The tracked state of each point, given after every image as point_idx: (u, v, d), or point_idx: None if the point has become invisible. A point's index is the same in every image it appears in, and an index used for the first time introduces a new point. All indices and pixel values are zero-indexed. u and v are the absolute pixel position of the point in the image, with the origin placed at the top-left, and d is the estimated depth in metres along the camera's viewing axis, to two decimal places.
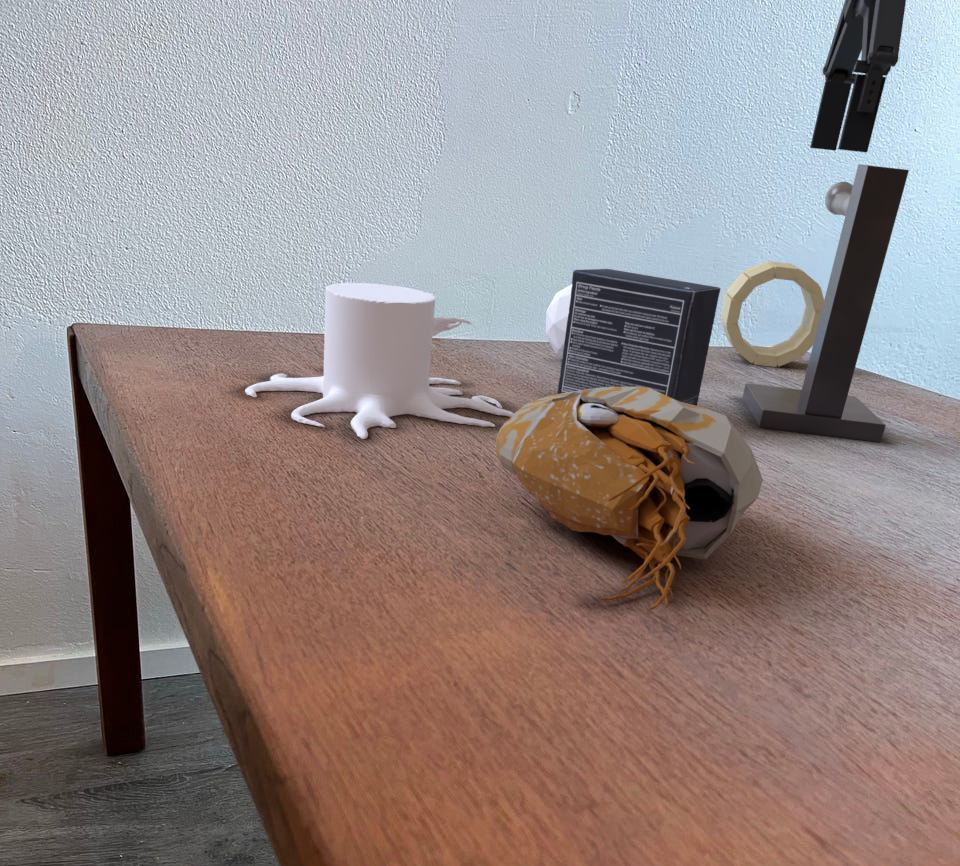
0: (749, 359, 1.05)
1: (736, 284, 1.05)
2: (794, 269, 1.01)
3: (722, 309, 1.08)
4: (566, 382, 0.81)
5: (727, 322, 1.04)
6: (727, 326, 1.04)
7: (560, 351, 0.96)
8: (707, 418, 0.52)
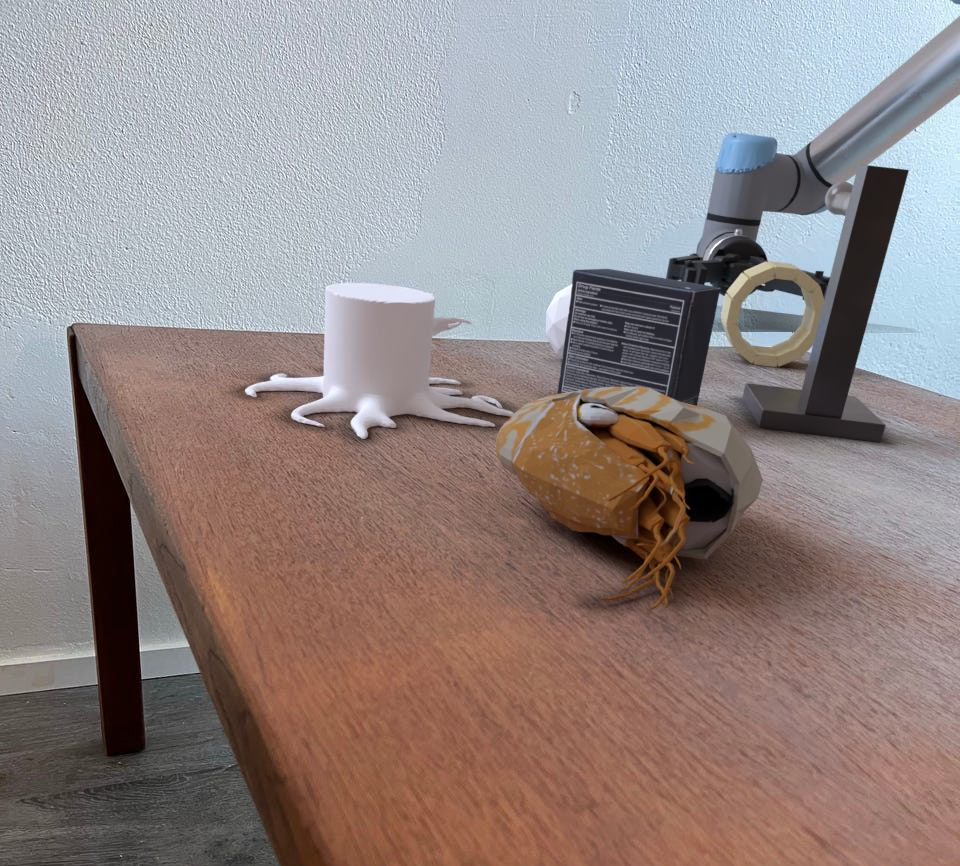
0: (749, 359, 1.05)
1: (736, 284, 1.05)
2: (794, 269, 1.01)
3: (722, 309, 1.08)
4: (566, 382, 0.81)
5: (727, 322, 1.04)
6: (727, 326, 1.04)
7: (560, 351, 0.96)
8: (707, 418, 0.52)
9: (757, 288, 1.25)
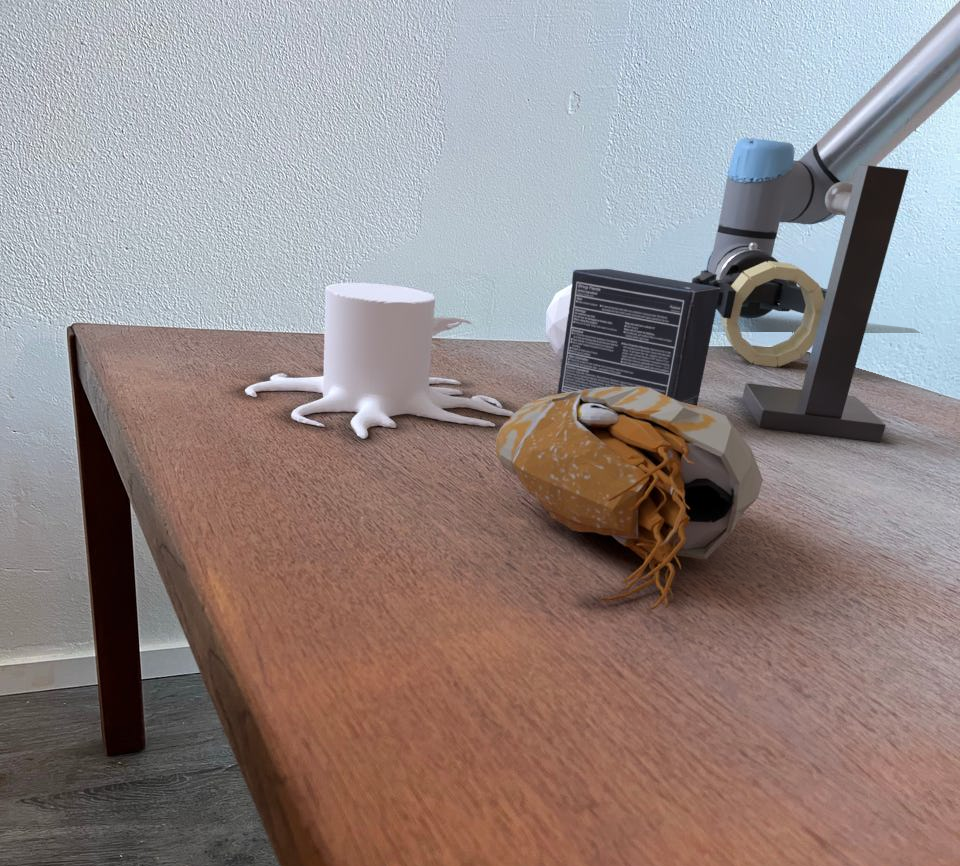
0: (749, 359, 1.05)
1: (736, 284, 1.05)
2: (794, 269, 1.01)
3: None
4: (566, 382, 0.81)
5: (727, 322, 1.04)
6: (727, 326, 1.04)
7: (560, 351, 0.96)
8: (707, 418, 0.52)
9: None
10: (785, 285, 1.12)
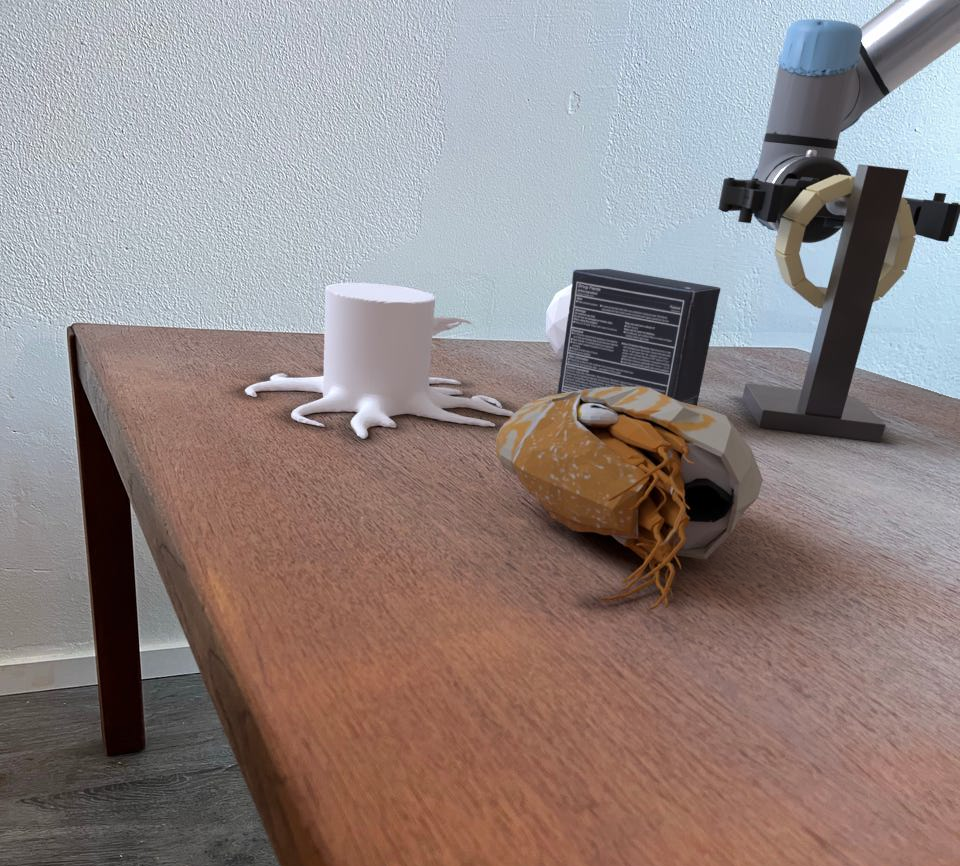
0: (812, 301, 0.82)
1: (797, 203, 0.81)
2: None
3: (777, 238, 0.84)
4: (566, 382, 0.81)
5: (785, 251, 0.80)
6: (785, 257, 0.80)
7: (560, 351, 0.96)
8: (707, 418, 0.52)
9: None
10: None
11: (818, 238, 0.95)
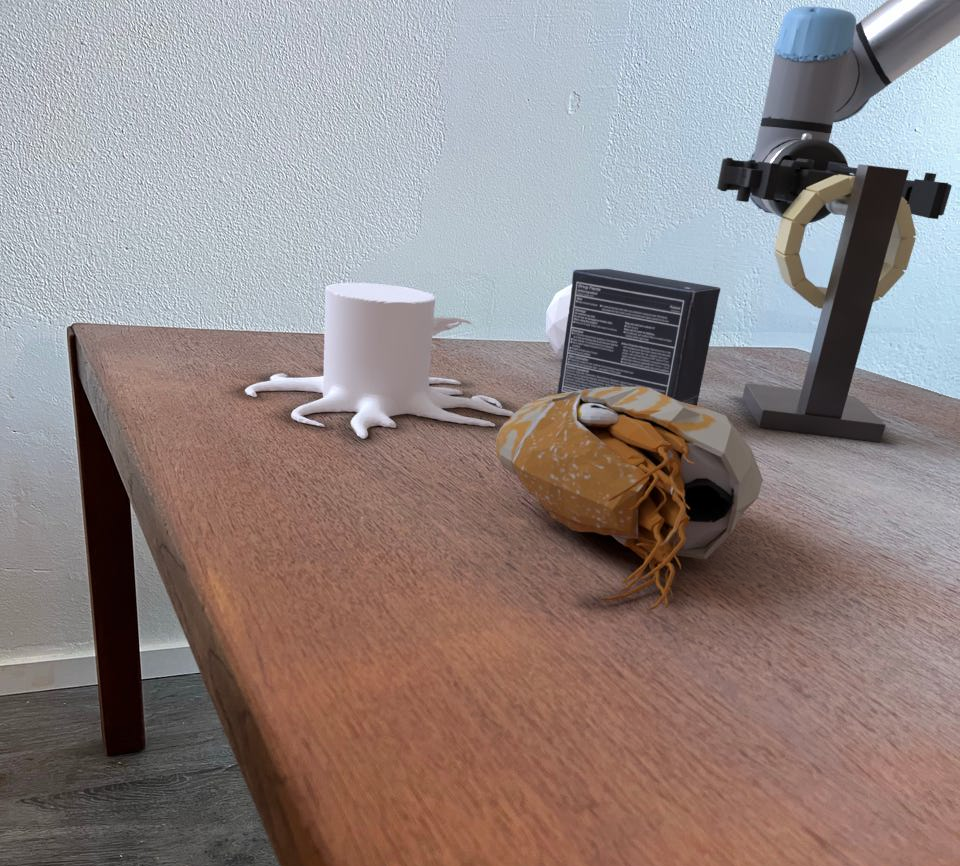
0: (812, 301, 0.82)
1: (797, 203, 0.81)
2: None
3: (777, 238, 0.84)
4: (566, 382, 0.81)
5: (785, 251, 0.80)
6: (785, 257, 0.80)
7: (560, 351, 0.96)
8: (707, 418, 0.52)
9: None
10: None
11: (813, 219, 0.98)
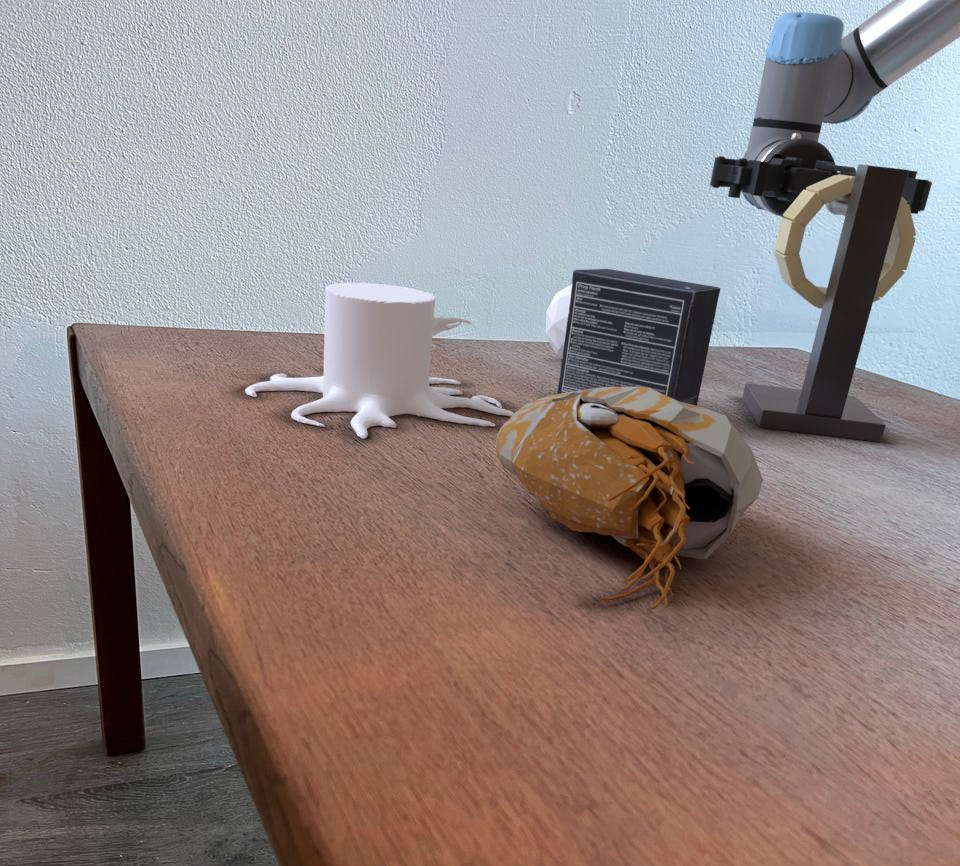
0: (812, 301, 0.82)
1: (797, 203, 0.81)
2: None
3: (777, 238, 0.84)
4: (566, 382, 0.81)
5: (785, 251, 0.80)
6: (785, 257, 0.80)
7: (560, 351, 0.96)
8: (707, 418, 0.52)
9: None
10: (844, 172, 0.96)
11: None
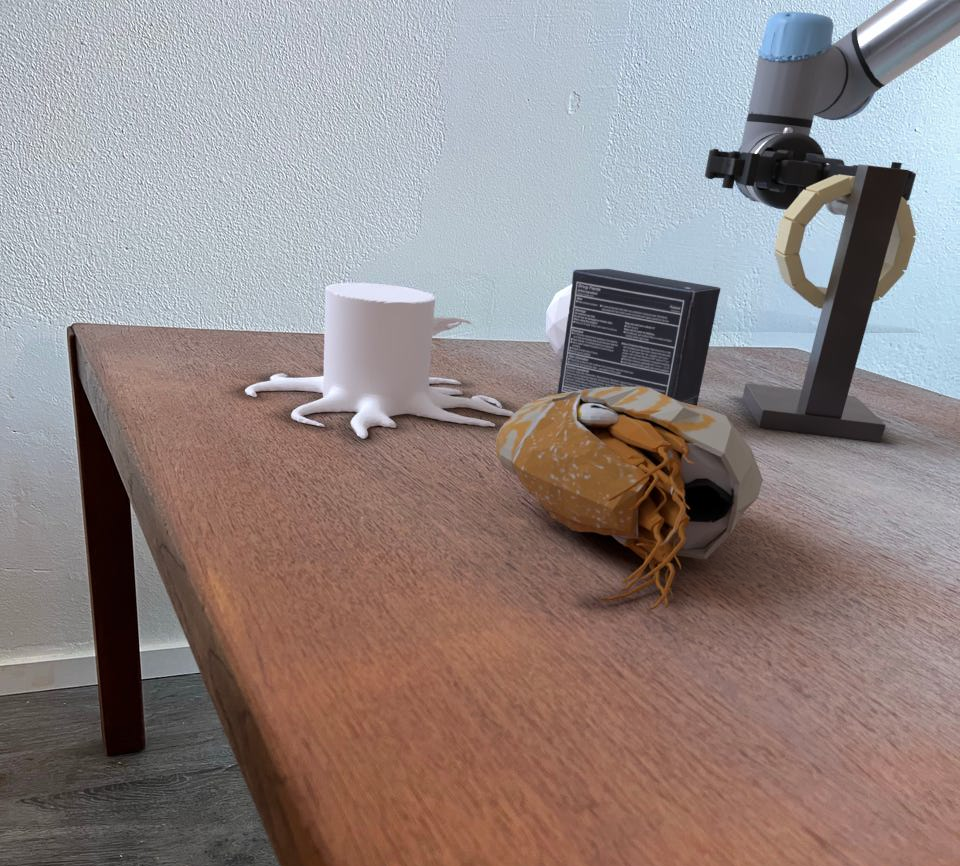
0: (812, 301, 0.82)
1: (797, 203, 0.81)
2: None
3: (777, 238, 0.84)
4: (566, 382, 0.81)
5: (785, 251, 0.80)
6: (785, 257, 0.80)
7: (560, 351, 0.96)
8: (707, 418, 0.52)
9: None
10: (833, 164, 1.00)
11: None
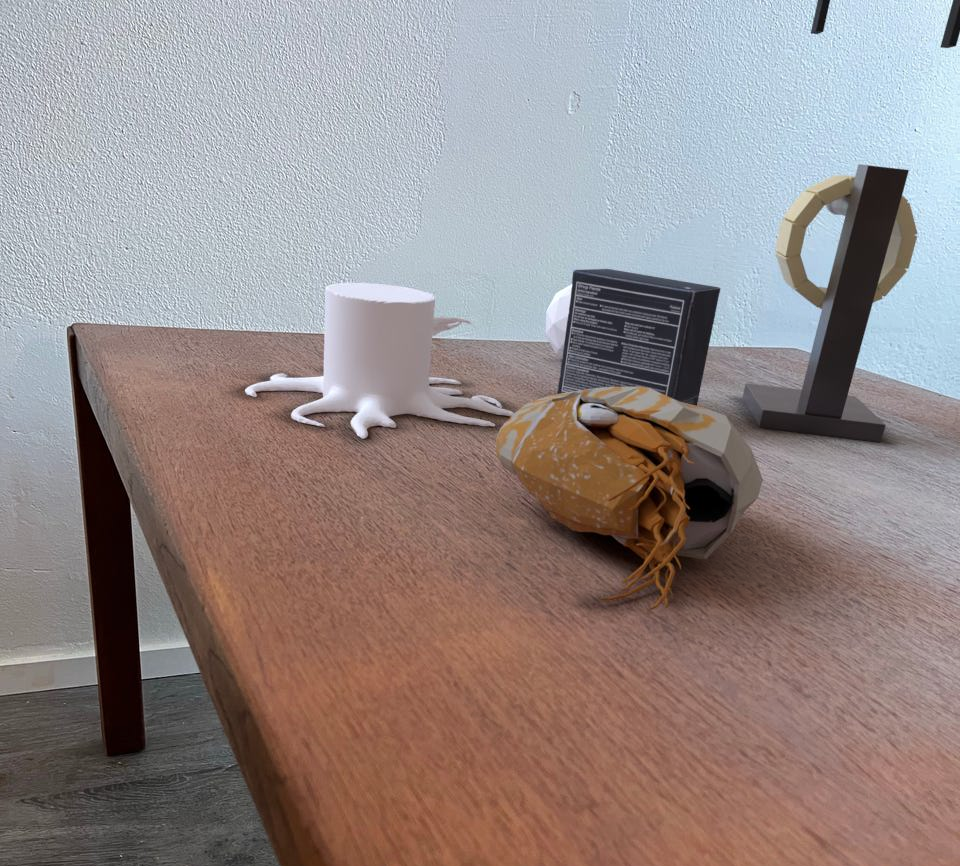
0: (815, 302, 0.82)
1: (797, 205, 0.81)
2: None
3: (778, 240, 0.84)
4: (566, 382, 0.81)
5: (787, 253, 0.80)
6: (787, 259, 0.81)
7: (560, 351, 0.96)
8: (707, 418, 0.52)
9: None
10: None
11: None
